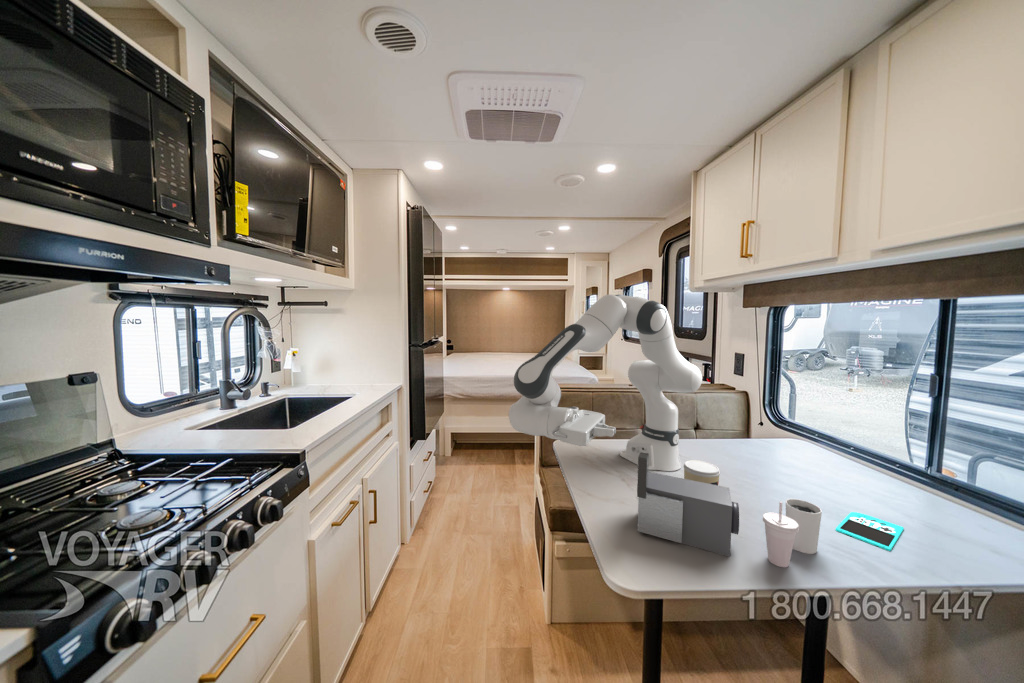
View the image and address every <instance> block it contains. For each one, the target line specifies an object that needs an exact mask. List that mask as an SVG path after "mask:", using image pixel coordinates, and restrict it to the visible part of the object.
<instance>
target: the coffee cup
mask: <svg viewBox="0 0 1024 683" xmlns="http://www.w3.org/2000/svg"><path fill="white" fill-rule="evenodd" d="M720 474H721V471H720V469H719V467H718V466H717V465H715V464H713V463H711V462H708V461H705V460H699V459H691V460H690V459H689V460H687V461H685V462H684V464H683V475H684V476H683V479H688V480H693V481H698V482H703V483H708V484H713V485H718V486H719V482H720V476H721V475H720Z"/></svg>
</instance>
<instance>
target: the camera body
mask: <svg viewBox="0 0 1024 683" xmlns="http://www.w3.org/2000/svg"><path fill="white" fill-rule="evenodd" d="M648 493H650V494H655V495H659V496H663V497H668V498H672V499H677V500H681V501H683V519H682V543H681V544H683V545H685V546H689V547H693V548H696V549H701V550H704V551H708V552H710V553H715V554H718V555H722V556H726V557H729V558H730V557H731V546H732V544H731V543H732V534H734V535H739V532H740V508H739V502H736V501H732V497H731V492H730V487H728V486H727V487H726V486H721V485H719V484H718V485H713V484H708V483H703V482H698V481H693V480H688V479H684V477H683V478H682V477H678V476H677V477H676V476H674V475H673V476H672V475H667V474H662V473H657V472H651V471H648Z"/></svg>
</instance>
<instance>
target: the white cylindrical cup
mask: <svg viewBox="0 0 1024 683" xmlns="http://www.w3.org/2000/svg"><path fill="white" fill-rule="evenodd" d="M822 512H823V511H822V509H821V507H820V506H818V505H816V504H814V503H812V502H809V501H807V500H803V499H799V498H786V500H785V516H787V517H789V518H791V519H793V520H794V521H796V522H797V523H798V525H799V526H798V528H799V530H798V532H796V536H795V540H794V544H793V549H792V550H795V551H796V552H800V553H803V554H808V555H813V554H817V552H818V547H819V546H818V544H819V537H820V529H821V521H822Z"/></svg>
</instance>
